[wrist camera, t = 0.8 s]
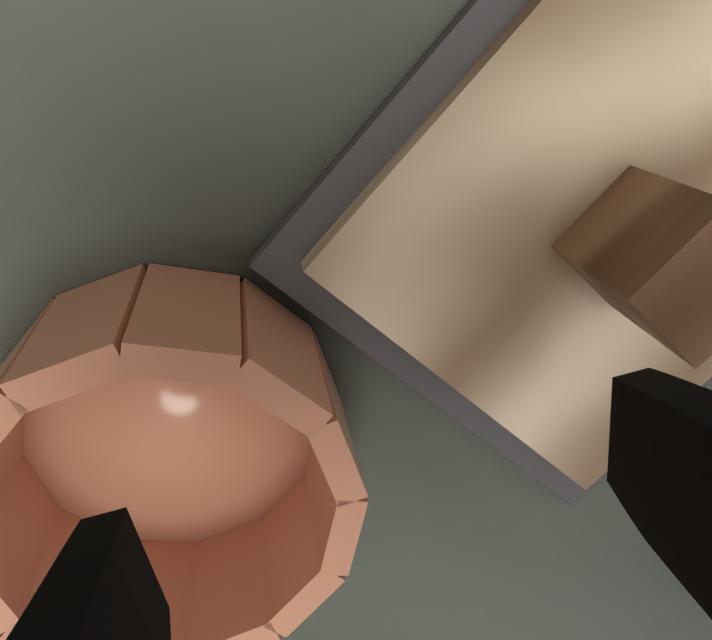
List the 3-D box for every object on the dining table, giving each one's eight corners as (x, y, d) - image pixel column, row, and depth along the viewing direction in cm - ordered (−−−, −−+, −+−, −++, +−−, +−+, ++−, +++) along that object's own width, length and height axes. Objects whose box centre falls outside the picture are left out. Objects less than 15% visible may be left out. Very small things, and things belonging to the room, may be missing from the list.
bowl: (397, 389, 21) (441, 488, 17) (209, 583, 23) (203, 717, 19) (132, 195, 17) (96, 256, 13) (-67, 450, 19) (-158, 580, 15)
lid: (873, 203, 20) (1042, 251, 16) (575, 476, 23) (652, 578, 19) (651, -140, 15) (814, -204, 11) (300, 261, 18) (321, 336, 14)
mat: (894, 195, 21) (911, 199, 21) (563, 495, 24) (571, 506, 24) (646, -206, 15) (661, -214, 15) (249, 260, 18) (249, 267, 18)
